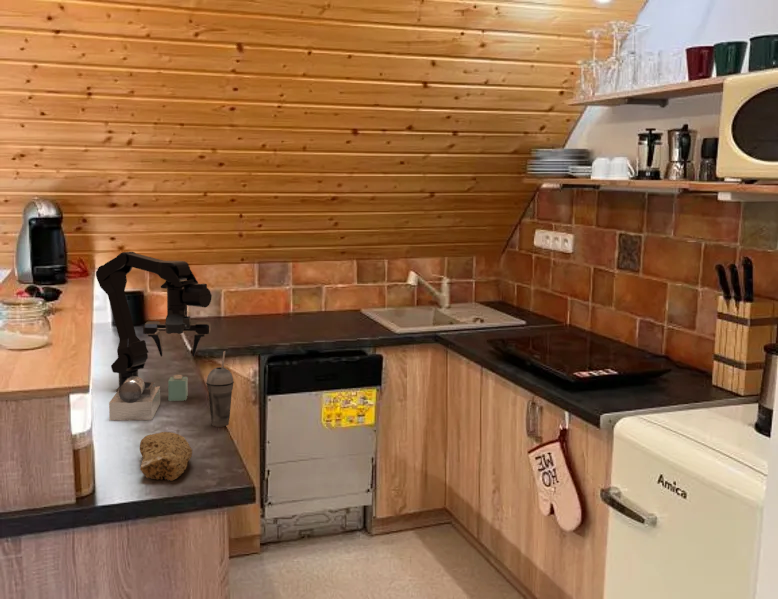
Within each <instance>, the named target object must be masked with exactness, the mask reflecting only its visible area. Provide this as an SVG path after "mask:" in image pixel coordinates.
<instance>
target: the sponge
mask: <svg viewBox="0 0 778 599" xmlns="http://www.w3.org/2000/svg"><path fill="white" fill-rule="evenodd" d="M139 451H140V453H139V454H140V455H141V457H142V461H141V465H140V468H139V470H140V471H141V473H142V474H143V475H144V476H145V477H146V479H152V480H161V481H162V480H163V479H164V480H166V479H167V481H168V480H170V481H169V482H173V481H175V480H176V479H179V477H180V476H182V474H184V472H185V470H186V469H187V467H188V462H189V461H190V460H191V458H192V455H193V448H192V447H191V445H190V444H189V442H188V441H187V440H186V438H185V437H184V436H182V435H180V434H179V433H175V432H170V431H161V432H158V433H157V432H156V433H152V434H149V435H146V436H144V437H143V438H142V439H141V440H140V443H139ZM163 477H164V478H163Z"/></svg>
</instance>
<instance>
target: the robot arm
mask: <svg viewBox="0 0 778 599" xmlns="http://www.w3.org/2000/svg"><path fill="white" fill-rule="evenodd" d="M133 268H135V269H139V270H141V271H145V272H148V273H152V274H156V275H157V276H158V277H159V278H160V279H162V280H164V281H165V282H164V283H163V284H162V285H160V289H166V309H167V310H166V317H165V323H163V324H161V322H160V321H156V320H153V321H151V320H150V321H146V323H144V325H143V329H142V331H143V332H142V333H143V335H147V336H148V337H149V338H152V339H153V341H154V342H155V345H156V347H157V351H158V353H159V355H160V357H164V356H163V355H164V349H163V339H162V332H163V331H164V332H165V334H168V335H170V334H178V335H180V334H183V333H184V332H185V331H186V332H191V331H192V332H195V334H193V336H194V337H193V346H192V357H195V355H196V353H197V350H198V345H199V343H200V340H201V338H203V337H205V336H206V335H209V334H210V333H211V330H212V329H211V322H210V321H196V322H195V324H191V320H192V319H191V316H189V315H188V306H190V307H196V308H208V306H210V304H211V302H212V296H213V295H212V293H211V291H210V289H209V288H208V284H207V283H199V282H198V279H197V277H195V275H194V273H193V271H192V270H191V268H190V264H189V263H188V262H186V261H185V260H163V259H159V258H155V257H151V256H147V255H144V254H140V253H136V252H134V251H124V252H120V253H119V254H118V255H116V257H114V258H112V259H110V260H109V261H107V262H105V263H104V264H103V265H102V264H101V265H100V266H98V267H97V270H96V271H95V277H96V279H97V282H98V285H99V287H100V288H101V289H102V291H103V292H104V293H105V294H106V295H107V298H108V302H109V305H110V308H111V312H112V315H113V316H112V317H113V319H114V320H113V321H114V323H115V327H116V331H117V335H118V339H119V342H118V346H117V349H116V350H117V358H116V359H115V361H114V362H113V363H112V364H111V366H110V367H111V371H112V373H116V374H118V387H117V389H116V390H115V392H116V393H117V391H118V390H119V389H120V387H121V386H122V385H123V384H124V383H125V381H126V380H127V379H128V378H129V377H132V376H137V377H139V370H142V369H144V368H145V365H146V362H147V361H148V358H149V356H148V353H149V350H148V347H147V344H146V343H147V342H146V340H144V339H143V340H142V339H141V340H140V338H139V337H138V336H137V334H136V330H135V326H134V323H133V319H132V315H131V311H130V307H129V303H128V299H127V295H126V292H125V290H126V286H127V282H128V279H127V275H128V274H129V273H130V272H131V271H132V270H133Z"/></svg>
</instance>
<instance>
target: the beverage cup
mask: <svg viewBox="0 0 778 599" xmlns="http://www.w3.org/2000/svg"><path fill="white" fill-rule="evenodd" d="M225 357H226V350H224V351H223V352H222V358H221V359H222V360H221V367H220V366H218V367H215V368H213V369H211V371H209V373H208V375H207V377H206V381H205V383H206V388H207V392H208V401H209V404H208V405H209V413H210V420H211V426H213V427H217V428H223V427H227V426H229V425H230V424H229V423H230V418H231V417H230V416H231V405H232V392H233V389H234V384H235V382H234V377H233V375H232V372H231V371H230V370H229V369H227V368H226V367H224V365H225V359H226V358H225Z"/></svg>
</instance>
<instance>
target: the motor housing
mask: <svg viewBox="0 0 778 599" xmlns="http://www.w3.org/2000/svg"><path fill="white" fill-rule="evenodd" d="M160 405H161V386H156V382H155V381H144V379H142V378H141V377H139V376H138V377H137V376H132V377H129V378H128V379H127V380H126V381H125V383H124V384H123V385H122V386H121V387H120V389H119V390H118V391H117V392H116V393H114V395H113V397H112V398H111V399H110V401H108V408H109V409H108V410H109V411H108V413H109V421H110V420H114V421H153V419H154V416H155V415H156V413H157V410H158V409H159V407H160Z"/></svg>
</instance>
